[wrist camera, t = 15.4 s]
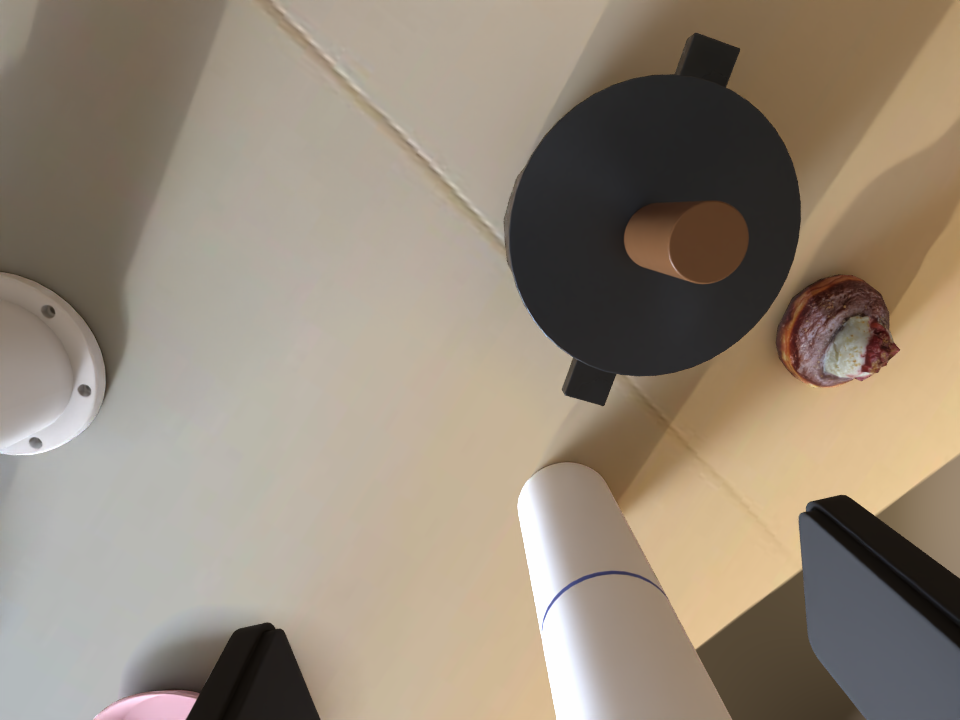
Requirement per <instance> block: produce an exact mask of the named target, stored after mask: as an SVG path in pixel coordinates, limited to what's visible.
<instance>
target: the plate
mask: <svg viewBox="0 0 960 720" xmlns="http://www.w3.org/2000/svg"><path fill="white" fill-rule="evenodd" d="M199 694H200V693H198V692H193V691H187V690H163V691H151V692H144V693H139V694H134V695H131V696H128V697H125V698H123V699H120V700H118V701H116V702H114V703H112V704H111V705H109V706H108V707H106V708H105V709H104V710H102V711H101V712H100V713H99V714H98V715H97V716H96V717H95V718H94V719H93V720H186V718H187V716H188V715H189V713H190V711H191V709H192V707H193V705H194V703H195V702H196V700H197V698H198V696H199Z"/></svg>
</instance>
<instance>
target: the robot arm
mask: <svg viewBox="0 0 960 720" xmlns="http://www.w3.org/2000/svg"><path fill="white" fill-rule="evenodd" d="M105 387H106V376H105V366H104V361H103V357H102V353H101V350H100V348H99V346H98V343H97V341H96V339H95V337H94V335H93V333H92V332H91V330H90V329H89V327H88V326H87V324H86V323H85V321H84V320H83V318H82V317H81V316H80V315H79V314H78V313H77V312H76V311H75V310H74V309H73V308H72V307H71V305H70V304H68V303H67V302H66V301H65V300H63V299H62V298H61V297H59V296H58V295H57V294H56V293H54V292H53V291H51V290H49V289H48V288H46V287H44V286H42V285H40V284H39V283H37V282H35V281H32V280H29V279H26V278H24V277H21V276H18V275H15V274H9V273H4V272H0V453H2V454H9V455H31V454H36V453H42V452H47V451H49V450H52V449H54V448H57V447H59V446H61V445H63V444H65V443H67V442H68V441H70V440H72V439H73V438H75V437H77V436H78V435H79V434H80V433H81V432H83V431H84V430H85V429H86V428H87V427H88V426H89V425H90V423H91V422H92V421H93V419H94V418H95V417H96V415H97V413H98V411H99V409H100V407H101V404H102V402H103V398H104V392H105ZM799 531H800V543H801V556H802V568H803V579H804V592H805V605H806V617H807V629H808V637H809V641H810V644H811V646H812V649H813V651H814V652H815V654H816V656H817V658H818V659H819V660H820V662H821V663H822V664H823V665H824V667H825V668H826V669H827V670H828V672H829V673H830V674H831V676H832V677H833V678H834V679H835V680H836V682H837V683H838V684H839V686H840V687H841V688H842V689H843V691H844V692H845V693H846V694H847V695H848V697H849V698H850V699H851V701H852V702H853V703H854V704H855V706H856V707H857V708H858V709H859V711H860V712H861V713H862V714H863V716H864V717H865V718H866V719H867V720H960V578H958V577H957V576H956V575H954V574H953V573H951V572H950V571H949V570H947V569H946V568H945V567H943V566H942V565H941V564H939V563H938V562H936V561H935V560H934V559H932V558H931V557H930V556H928V555H927V554H926V553H924V552H923V551H922V550H920V549H919V548H918V547H916V546H915V545H913V544H912V543H911V542H909V541H908V540H907V539H905V538H904V537H902V536H901V535H900V534H898V533H897V532H896V531H894V530H893V529H892V528H890V527H889V526H888V525H886V524H885V523H884V522H882V521H881V520H880V519H878V518H877V517H876V516H874V515H873V514H871V513H870V512H869V511H867V510H866V509H865V508H863V507H862V506H861V505H859V504H858V503H857V502H855V501H854V500H852V499H851V498H849V497H848V496H846V495H838V496H834V497H829V498H825V499H820V500H816V501H811V502H809V503H808V504H807V506H806V512H803V513H801V514H800V515H799ZM186 720H320V718H319V715H318V713H317V710H316V708H315V705H314V703H313V701H312V698H311V696H310V693H309V691H308V688H307V686H306V683H305V681H304V678H303V676H302V673H301V671H300V669H299V666H298V664H297V661H296V659H295V656H294V654H293V651H292V649H291V646H290V644H289V642H288V639H287V637H286V634H285V633H284V631H283V630H282V629H275V627H274V625H272V624H271V623H263V624H258V625H254V626H249V627H245V628H240V629H238V630H236V631H235V632H234V633H233V634H232V636H231V637H230V639H229V641H228V643H227V645H226V647H225V648H224V650H223V652H222V654H221V656H220V658H219V659H218V661H217V663H216V665H215V667H214V669H213V670H212V672H211V674H210V676H209V678H208V680H207V681H206V683H205V685H204V687H203V689H202V691H201V692H200V694H199V696H198V698H197V700H196V702H195V703H194V705H193V707H192V709H191V711H190V713H189V715H188V716H187V718H186Z"/></svg>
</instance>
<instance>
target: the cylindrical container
mask: <svg viewBox="0 0 960 720" xmlns="http://www.w3.org/2000/svg"><path fill="white" fill-rule="evenodd" d="M518 511H519V518H520V524H521V529H522V534H523V540H524V545H525V550H526V556H527V561H528V566H529V572H530V577H531V583H532V588H533V593H534V599H535V604H536V610H537V615H538V620H539V626H540V631H541V637H542V642H543V647H544V653H545V658H546V663H547V669H548V674H549V680H550V685H551V690H552V696H553V701H554V706H555V712H556V717H557V720H732V719H731V717H730V715H729V713H728V711H727V709H726V708H725V705H724V704H723V702H722V700H721V698H720V696H719V694H718V692H717V690H716V688H715V687H714V685H713V683H712V681H711V679H710V677H709V676H708V673H707V671H706V670H705V668H704V666H703V664H702V662H701V660H700V658H699V657H698V654H697V653H696V651H695V649H694V647H693V645H692V643H691V641H690V639H689V637H688V636H687V634H686V632H685V630H684V628H683V626H682V624H681V622H680V620H679V619H678V617H677V615H676V613H675V611H674V609H673V607H672V605H671V603H670V602H669V600H668V598H667V596H666V594H665V592H664V590H663V588H662V587H661V585H660V583H659V581H658V579H657V577H656V575H655V573H654V571H653V570H652V568H651V566H650V564H649V562H648V560H647V558H646V556H645V555H644V553H643V551H642V549H641V547H640V545H639V543H638V541H637V540H636V538H635V536H634V534H633V532H632V530H631V528H630V526H629V525H628V523H627V521H626V519H625V517H624V515H623V513H622V511H621V510H620V508H619V506H618V504H617V502H616V500H615V498H614V496H613V495H612V493H611V491H610V489H609V487H608V485H607V483H606V482H605V480H604V479H603V478H602V477H601V475H600V474H599V473H597V472H596V471H595V470H593V469H592V468H590V467H588V466H585V465H582V464H578V463H571V462H564V463H556V464H553V465H550V466H547V467H545V468H543V469H541V470H539V471H538V472H536V473H535V474H534V475H533V476H532V477H531V478H530V479H529V480H528V481H527V482H526V484H525V485H524V487H523V489H522V491H521V494H520V496H519V502H518Z"/></svg>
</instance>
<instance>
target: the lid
mask: <svg viewBox="0 0 960 720" xmlns="http://www.w3.org/2000/svg"><path fill="white" fill-rule="evenodd" d="M800 222H801V201H800V194H799V186H798V180H797V177H796V173H795V169H794V166H793V163H792V160H791V158H790V156H789V153H788V151H787V149H786V146H785V144H784V143H783V141H782V139H781V138H780V136H779V135H778V133H777V131H776V130H775V128H774V127H773V126H772V125H771V123H770V122H769V121H768V120H767V119H766V117H765V116H764V115H763V114H762V113H761V112H760V111H759V110H758V109H757V108H755V107H754V106H753V105H752V104H751V103H750V102H749V101H747V100H746V99H744V98H743V97H741V96H740V95H738V94H736V93H735V92H733V91H732V90H730V89H728V88H725V87H723V86H721V85H719V84H716V83H714V82H711V81H708V80H704V79H700V78H697V77H692V76H683V75H675V74H670V75H650V76H645V77H639V78H633V79H630V80H627V81H624V82H621V83H618V84H615V85H612V86H610V87H608V88H606V89H604V90H602V91H600V92H597V93H595V94H593V95H592V96H590V97H589V98H587V99H586V100H584V101H583V102H581V103H580V104H578V105H577V106H575V107H574V108H573V109H572V110H571V111H570V112H568V113H567V114H566V115H565V116H564V117H563V118H561V119H560V120H559V121H558V122H557V123H556V124H555V125H554V127H553V128H552V129H551V130H550V131H549V132H548V133H547V134H546V135H545V137H544V138H543V139H542V141H541V142H540V143H539V145H538V146H537V148H536V149H535V151H534V152H533V154H532V155H531V157H530V159H529V161H528V163H527V165H526V167H525V169H524V170H523V172H522V175H521V177H520V180H519V183H518V185H517V188H516V191H515V194H514V198H513V203H512V207H511V211H510V220H509V229H508V246H509V257H510V264H511V270H512V273H513V277H514V280H515V284H516V287H517V290H518V292H519V294H520V297H521V299H522V301H523V303H524V305H525V307H526V309H527V310H528V312H529V313H530V315H531V317H532V318H533V320H534V321H535V323H536V324H537V325H538V326H539V328H540V329H541V330H542V331H543V333H544V334H545V335H546V336H547V337H548V338H549V339H550V340H551V341H552V342H553V343H555V344H556V345H557V346H558V347H559V348H560V349H562V350H563V351H565V352H566V353H567V354H569V355H570V356H572V357H573V358H575V359H577V360H579V361H581V362H583V363H585V364H587V365H589V366H592V367H594V368H597V369H600V370H603V371H606V372H611V373H615V374H620V375H629V376H657V375H663V374H669V373H675V372H678V371H681V370H685V369H688V368H692V367H694V366H696V365H699V364H701V363H703V362H706V361H708V360H710V359H712V358H713V357H715V356H717V355H719V354H720V353H722V352H724V351H725V350H727V349H728V348H729V347H731V346H732V345H734V344H735V343H736V342H738V341H739V340H740V339H741V338H742V337H743V336H745V335H746V334H747V333H748V332H749V331H750V330H751V329H752V328H753V327H754V326H755V325H756V324H757V323H758V321H759V320H760V319H761V318H762V317H763V316H764V314H765V313H766V312H767V311H768V309H769V308H770V306H771V305H772V303H773V302H774V300H775V299H776V297H777V296H778V294H779V292H780V290H781V288H782V286H783V284H784V282H785V280H786V278H787V276H788V273H789V270H790V268H791V265H792V263H793V260H794V256H795V252H796V248H797V244H798V239H799V230H800Z"/></svg>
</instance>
